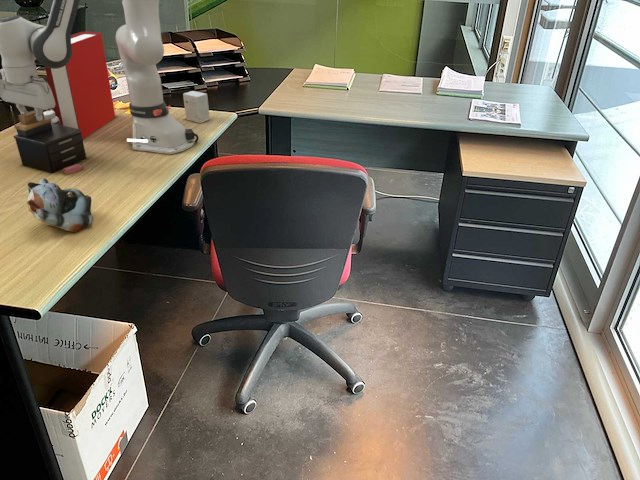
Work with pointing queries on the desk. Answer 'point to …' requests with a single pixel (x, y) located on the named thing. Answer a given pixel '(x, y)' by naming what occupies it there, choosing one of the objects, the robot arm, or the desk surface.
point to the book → (83, 85)
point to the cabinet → (51, 148)
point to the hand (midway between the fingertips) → (32, 119)
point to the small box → (196, 106)
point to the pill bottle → (52, 117)
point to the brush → (32, 124)
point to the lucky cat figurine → (59, 206)
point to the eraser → (72, 169)
